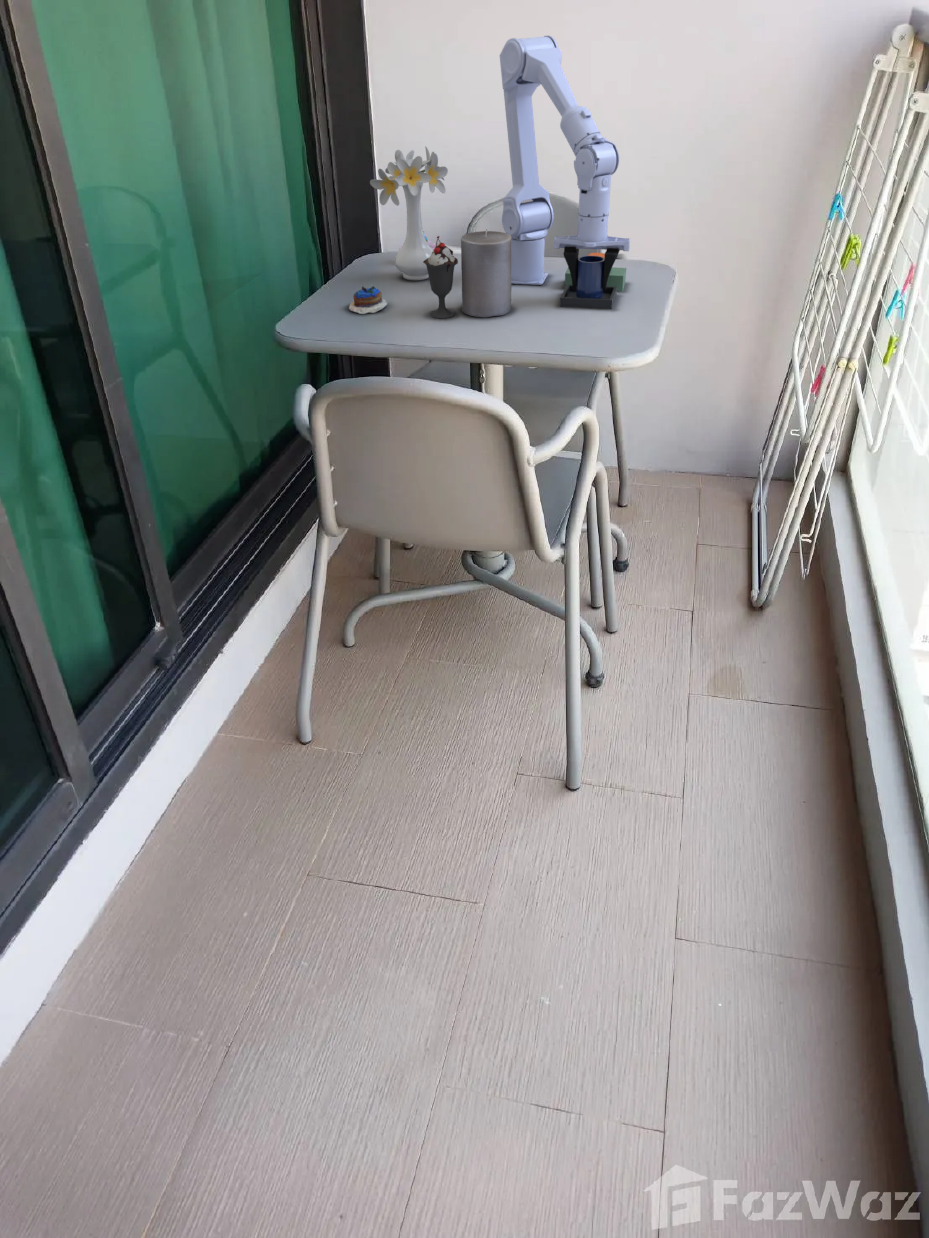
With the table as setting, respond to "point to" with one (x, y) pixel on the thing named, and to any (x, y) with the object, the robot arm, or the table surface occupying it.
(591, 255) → the button
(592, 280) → the cup
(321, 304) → the table surface
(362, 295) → the dessert
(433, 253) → the sundae
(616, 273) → the green button base
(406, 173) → the flower vase
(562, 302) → the tray
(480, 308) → the pillar candle
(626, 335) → the table surface
